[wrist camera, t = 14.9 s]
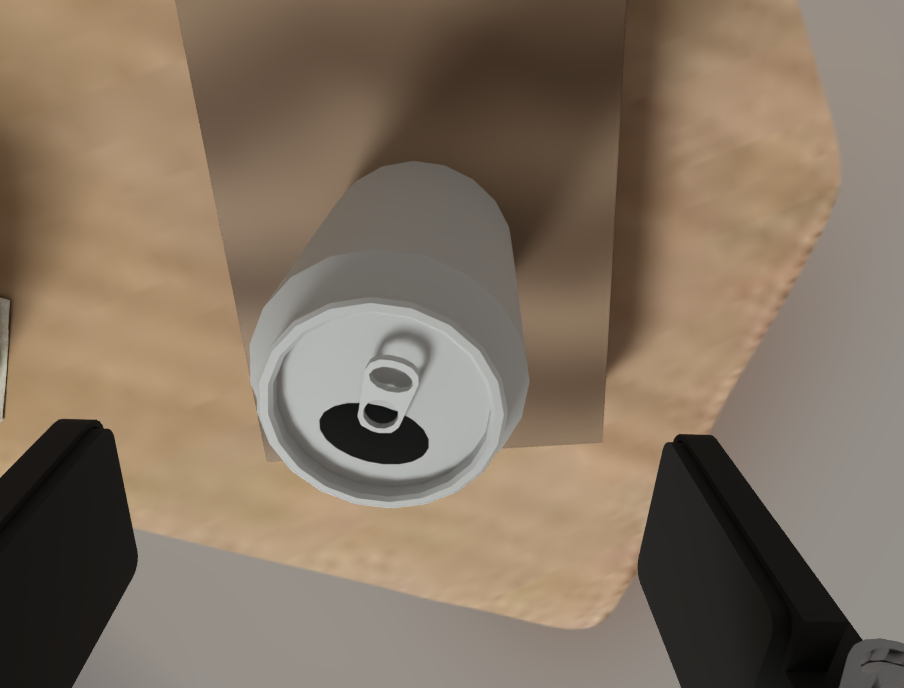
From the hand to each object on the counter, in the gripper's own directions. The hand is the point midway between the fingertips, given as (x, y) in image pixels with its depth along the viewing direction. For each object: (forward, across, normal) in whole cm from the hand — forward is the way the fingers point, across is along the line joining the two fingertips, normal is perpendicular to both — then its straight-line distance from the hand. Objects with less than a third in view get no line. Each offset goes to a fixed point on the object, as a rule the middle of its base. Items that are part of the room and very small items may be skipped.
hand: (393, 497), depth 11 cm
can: (+17, 0, 0) cm, 17 cm away
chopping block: (+22, 0, +1) cm, 22 cm away
